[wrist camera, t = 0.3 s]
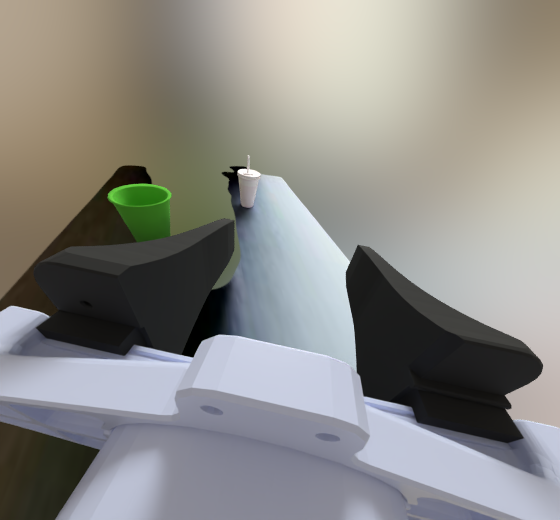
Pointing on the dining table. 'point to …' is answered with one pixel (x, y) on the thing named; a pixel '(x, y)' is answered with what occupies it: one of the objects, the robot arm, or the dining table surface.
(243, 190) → the smoothie
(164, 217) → the cup
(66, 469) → the dining table surface
